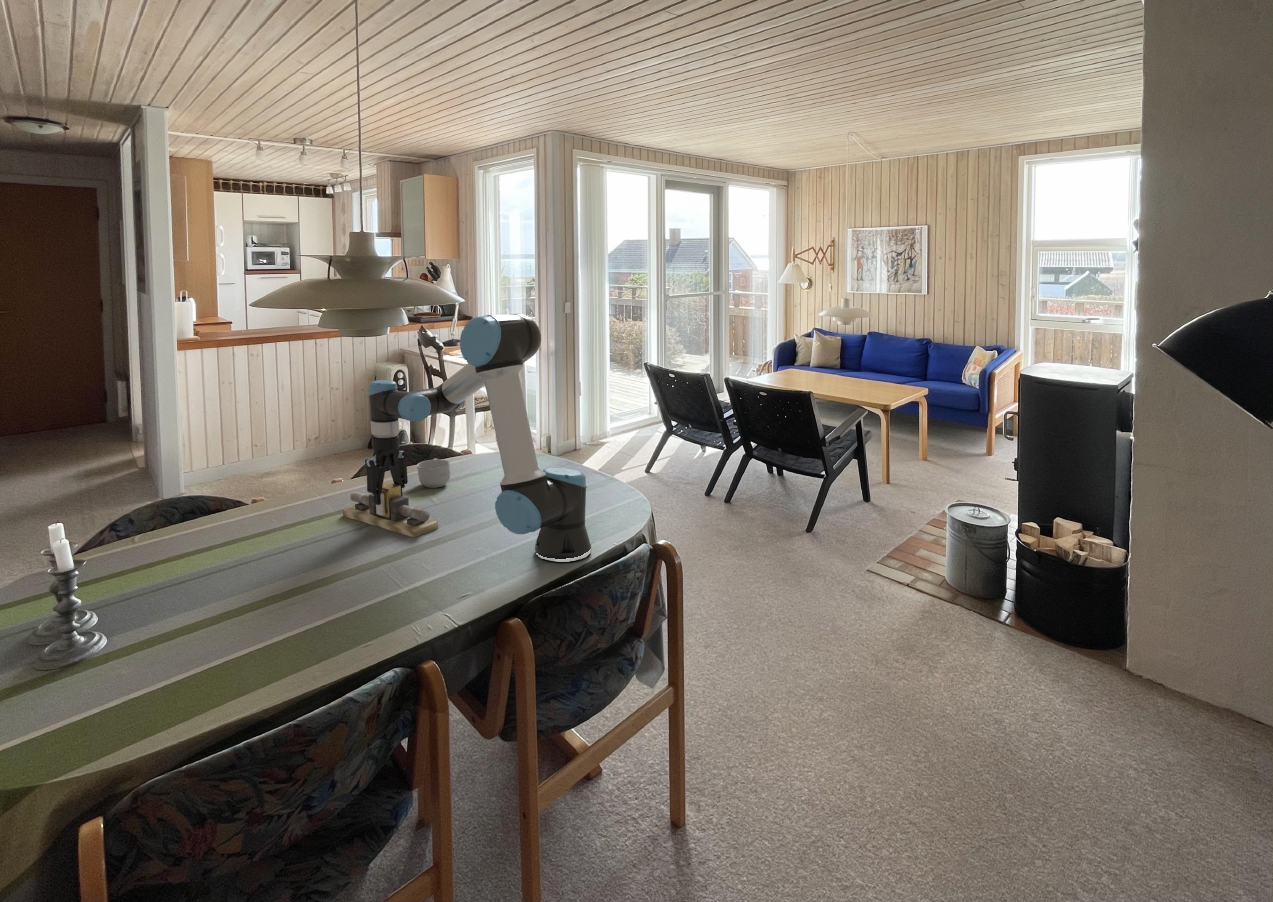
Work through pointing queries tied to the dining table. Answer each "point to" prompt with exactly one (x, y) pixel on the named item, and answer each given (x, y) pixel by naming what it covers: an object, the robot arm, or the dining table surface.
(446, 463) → the teacup
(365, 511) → the shaft rig
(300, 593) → the dining table surface
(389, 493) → the block
